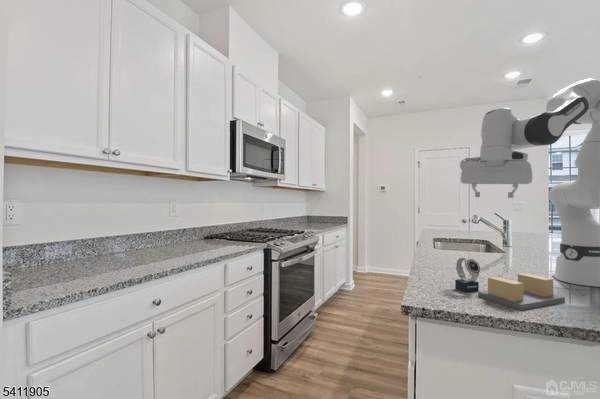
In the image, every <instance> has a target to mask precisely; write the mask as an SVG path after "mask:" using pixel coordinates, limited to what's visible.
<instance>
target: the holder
mask: <svg viewBox="0 0 600 399" xmlns="http://www.w3.org/2000/svg"><path fill="white" fill-rule="evenodd" d="M477 293H478V294H477V297H479V298H482V299H484V300H489V301H491V302H495V303H497V304H501V305H503V306H507V307H510V308H513V309H516V310H519V311H524V310H530V309H531V310H532V309H536V308H541V307H542V308H543V307H546V306H547V307H548V306H553V305H558V304H563V303H565V302H566V298H565V296H561V295H558V294H557V295H556V294H554V279H553V278H549V277H546V276H541V275H536V274H531V273H526V272H525V273H523V272H522V273H518V274H517V280H512V279H507V278H503V277H499V276H491V277H487V290H479V291H477Z"/></svg>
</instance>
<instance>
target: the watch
mask: <svg viewBox="0 0 600 399" xmlns="http://www.w3.org/2000/svg"><path fill="white" fill-rule="evenodd" d="M463 262H464V267H465V269H466V271H467V272H468V273H469V276H470V278H467V277H466V273H465V272H464V267H463V266H462V264H463ZM455 270H456V274H457V276H458V278H457V279H454V282H455V285H454V286H455V288H456V290H459V291H460V290H461V292H463V291H464V293H471V291H474V292H480V289H479V287H480V286H479V281H476V280H477V279H478V278H479V276H480V273H481V266H480V263H479V262H478V261H476V260H475V259H473V258H471V257H465V256H464V257H460V258H458V259H457V261H456V264H455Z"/></svg>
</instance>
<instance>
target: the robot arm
mask: <svg viewBox="0 0 600 399" xmlns="http://www.w3.org/2000/svg"><path fill="white" fill-rule="evenodd" d="M572 124H575V125H583V124H587V125H588V124H591V128H590V130H589V131H588V133H587V134H586V135H585V138H584V139H583V141H582V143H581V144H582V145H581V147H580V148H579V151H578V152H577V153H578V154H577V155H576V158H575V160H574V166H575V167H576V169H577V178H576V179H575V180H569V181H563V182H561V183H558V184H555V185H554V186H552V187H551V188H550V189H549V191H548V199H549V201H550V203H551V204H552V205H553V206H554V207H555V209H556V211H557V214H558V218H559V221H560V229H561V232H560V234H561V236H560V237H561V238H560V239H561V240H560V241H561V243H560V244H559V253H560V254H559V255H558V256H557V257H556V260H555V269H554V273H551V277H553V278H555V279H556V280H558V281H561V282H565V283H569V284H573V285H580V286H585V287H598V288H600V223H599V222H598V221H597V220H595V217H594V216H593V214H592V210H599V209H600V80H598V79H595V78H587V79H584V80H583V79H582V80H579V81H577V82H575V83H572V84H570V85H569V86H567V87H565V88H563V89H561V90H559V91H558V92H557V93H555V94H554V95H552V97H551V98H549V100H548V101H547V103H546V112H542V113H539V114H536V115H534V116H531V117H527V118H523V119H520V118H517V117H516V116H515V114H513V113H512V109H511V108H510V107H499V108H495V109H493V110H490V111H488V112H486V113H485V114H484V116H483V118H482V123H481V133H480V137H481V140H482V141H481V146H480V150H479V151H480V152H479V153H480V155H479V157H478V156H477V157H476V156H474V157H465V158H463V159H462V160H461V161H460V164H459V165H460V167H459V168H460V170H461V173H460V182H461V183H462V185H471V188H472V189H473V191H474V197H475V198H480V197H481V195H480V194H481V191H478V190H477V189H476V188H477V185H512V188H513V189H512V190H511V192H508V193H507V198H508V199H514V194H515V192H516V191H517V190H518V188H519V185H530V184H531V183H532V182H533V171H532V166H531V163H530V162H529V161H528V159H529V155H528V153H527V152H523V151H518V150H521V149H527V148H535V147H538V146H539V147H540V146H541V147H542V146H550V145H553V144H556V143H557V141H559V140H560V139H561V137H562V136H563V134H564V133H565V131H566V130H568V129H567V128H569V127H570V126H571V125H572Z"/></svg>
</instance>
